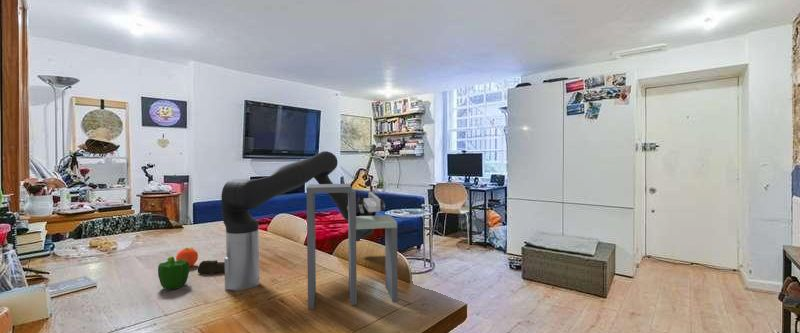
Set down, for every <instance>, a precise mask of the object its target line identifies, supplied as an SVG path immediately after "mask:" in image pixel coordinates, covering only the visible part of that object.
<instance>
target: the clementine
mask: <svg viewBox="0 0 800 333" xmlns="http://www.w3.org/2000/svg"><path fill="white" fill-rule="evenodd" d="M198 258H199V254H198V252H197V251H196V250H195V248H193V247H186V248H183V249H182V248H181V250H179V252H178V253H177V254H176V257H175V261H178V260H180V259H184V260H186V261H188V263H189V268H190V267H192V266H194V265H195V264H196V263H197V261H198Z"/></svg>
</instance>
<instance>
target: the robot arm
mask: <svg viewBox="0 0 800 333" xmlns="http://www.w3.org/2000/svg"><path fill="white" fill-rule="evenodd" d="M337 166H338V158H337V157H336V155H335V154H334V153H332V152H331V151H327V150H325V151H321V152H319V153H317V154H315V155H313V156H311V157H308V158H304V159H302V160H299V161H298V160H297V161H295V162H291V163H288V164H284V165H282V166H280V167H278V168H276V169H275V170H274V171H273V172H272V173H271V174H270V175H268V176H265V177H262V178H253V179H242V178H235V179H229V180H228V181H227V182H226V183H225V184H224V186H223V187H222V190H221V197H220V198H221V211H222V222H223V224H224V226H225V240H226V244H225V246H226V247H225V248H226V257H224V260H223V262H224V264H225V272H224V290H231V291H244V290H248V289H249V290H250V289H252V288H255V287H257V286H259V284H260V249H259V248H260V246H259V245H260V244H259V242H260V238H259V234H260V233H259V221H258V220H257V219H256V218H254V217H253V216H252V215H251V214H250V212H249V210H252V209H256V208H258V207H260V206H262V205H263V204H265V203H266V202H268V201H270V200H272V199H273V198H275V197H277V196H281V195H283V194H285V193H287V192H291V191H293V190H295V189H297V188H300V187H301V186H304V185H306V183H308V182H310V181H311V180H313V178H314V180H315V181H316V182H317V184H334V183H333V182H332V181H331V179H330V177H329V175H331V173H333V171H335V169H337ZM326 194H327V195H328V196H329V197H330V199H331V201H333V202H334V204H335V205H336V208H337V209H338V211H339V212H340V214H341V216H342V217H343V219H344V220H345V221H348V193H326ZM374 194H375V195H376V196H377V197H378V198H379V196H378V195H377V194H376V193H374ZM364 198H365V197H364V194H361V195H358V198H357V199H356V216H376V215H377V212H368V211H367V209H366V208H365V207H364V205H363V200H364ZM380 211H382V212H383V211H386V203H385V202H384V200H383V199H382V198H381V197H380ZM374 231H375V229H356V243H357V242H360V241H361V240H360V239H362V240H364V239H365V238H366V237H369V235H372V234H373V233H374Z"/></svg>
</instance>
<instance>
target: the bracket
mask: <svg viewBox="0 0 800 333" xmlns="http://www.w3.org/2000/svg"><path fill="white" fill-rule="evenodd" d="M367 194H368V197H367V198H365V197H364V200H363V205H364V207H365V208H366V209H367V211H368V212H376V213H378V212H381V210H380V198H381V197H380V198H379V196H378V195H377V194H376V193H373V192H372V191H371V192H368V193H367ZM375 194H376V195H377V196H378V197H377V196H376V195H375Z"/></svg>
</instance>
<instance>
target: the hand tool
mask: <svg viewBox="0 0 800 333" xmlns="http://www.w3.org/2000/svg"><path fill="white" fill-rule="evenodd" d="M199 273H200V275H215V274H217V273H225V264H224V261H219V262H218V260H215V259H213V260H202V261H201V262H200V263H198V266H197V274H199Z"/></svg>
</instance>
